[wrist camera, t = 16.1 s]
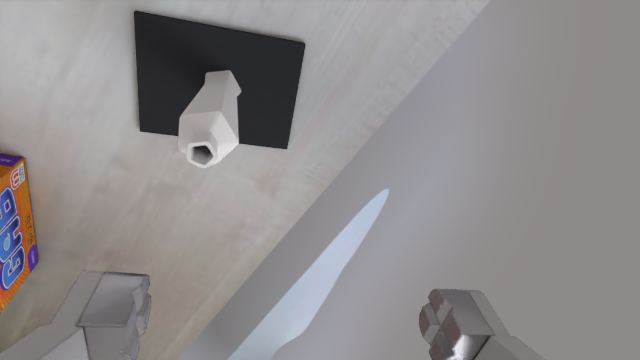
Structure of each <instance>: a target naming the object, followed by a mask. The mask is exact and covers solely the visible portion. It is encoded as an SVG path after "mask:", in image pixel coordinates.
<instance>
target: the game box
mask: <svg viewBox="0 0 640 360" xmlns="http://www.w3.org/2000/svg"><path fill="white" fill-rule="evenodd" d="M37 263H38V255H37V248H36V240H35V233H34V225H33V218H32V210H31V202H30V195H29V188H28V180H27V172H26V164H25V158H23V157H15V156H9V155H2V154H0V313H1V311H2V310H3V309H4V308H5V307H6V306H7V304H8V303H9V301H10V300H11V299H12V297H13V296H14V295H15V293H16V292H17V290H18V289H19V288H20V286H21V285H22V284H23V282H24V281H25V279H26V278H27V277H28V275H29V274H30V273H31V271H32V270H33V268H34V267H35V266H36V264H37Z"/></svg>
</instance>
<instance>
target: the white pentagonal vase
mask: <svg viewBox="0 0 640 360" xmlns="http://www.w3.org/2000/svg"><path fill="white" fill-rule="evenodd" d="M240 93H241V89H240V87H239V85H238V83H237V81H236V80H235V78H234V76H233V74H232V72H231V71H229V70H226V71H217V72H208V73H206V75H205V84H204V86H203V87H202V88H201V90H200V91H199V92H198V94H197V95H196V96H195V98H194V99H193V100H192V102H191V103H190V104H189V105H188V107H187V108H186V109H185V111H184V112H183V113H182V115H181V116H180V119H179V137H178V150H179V151H180V152H182V153H184V154H187V161H188V162H189V163H191V164H194V165H196V166H199V167H201V168H204V169H206V168H208V167H209V166H210V165H216V164H217V163H218V162H219V161H220V160H221V159H223V158H224V157H225V156H226V155H227V154H228V153H229V152H230V151H232V150H233V149H234V148H235V147H236V146H237V145H238V144H239V134H238V112H237V96H238V95H239V94H240Z"/></svg>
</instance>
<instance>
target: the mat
mask: <svg viewBox="0 0 640 360" xmlns="http://www.w3.org/2000/svg"><path fill="white" fill-rule="evenodd" d="M134 22H135V42H136V62H137V81H138V101H139V121H140V131H141V132H149V133H158V134H166V135H174V136H179V119H180V116H181V115H182V113H183V112H184V111H185V109H186V108H187V107H188V105H189V104H190V103H191V102H192V100H193V99H194V98H195V96H196V95H197V94H198V92H199V91H200V90H201V88H202V87H203V86H204V84H205V75H206V73H208V72H217V71H226V70H229V71H231V72H232V74H233V76H234V78H235V80H236V81H237V83H238V85H239V87H240V89H241V93H240V94H239V95H238V96H237V112H238V134H239V143H240V144H248V145H256V146H264V147H273V148H281V149H287V146H288V141H289V135H290V129H291V124H292V118H293V112H294V106H295V101H296V95H297V89H298V84H299V78H300V72H301V67H302V61H303V55H304V49H305V43H302V42H297V41H291V40H286V39H281V38H276V37H270V36H265V35H260V34H255V33H249V32H244V31H239V30H233V29H228V28H223V27H218V26H212V25H207V24H202V23H196V22H191V21H186V20H181V19H175V18H170V17H165V16H160V15H154V14H149V13H144V12H138V11H135V12H134Z"/></svg>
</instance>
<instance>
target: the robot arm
mask: <svg viewBox="0 0 640 360" xmlns="http://www.w3.org/2000/svg"><path fill="white" fill-rule="evenodd" d="M149 286H150V278H149V275H147V274H134V273H120V272H103V271H89V270H84V271H83V272H82V273H81V274H80V275H79V276H78V278H77V279H76V281H75V283H74V284H73V286H72V288H71V289H70V291H69V293H68V294H67V296H66V298H65V299H64V301H63V303H62V304H61V306H60V308H59V309H58V311H57V313H56V314H55V316H54V318H53V319H52V321H51V323H50V324H49V326H41V327H39V328H38V329H36V330H35V331H33V332H32V333H30V334H28V335H27V336H25V337H24V338H22V339H21V340H19V341H18V342H16V343H15V344H13V345H12V346H10V347H9V348H7V349H6V350H4V351H3V352H1V353H0V360H136V357H137V354H138V352H139V349H140V348H139V337H140V336H141V335H143V334H144V333H145V330H146V327H147V324H148V320H149V315H150V309H151V296H150V295H149V294H148V293H147V292H148V289H149ZM428 298H429V301H430V302H429V303H428V304H426V305H425V306H423V308H422V310H421V312H420V317H419V326H420V331H421V333H422V336H423V338H424V339H425V340H426V341H427V342H428V343H429V344H430V345H431V346H430V349H429V354H430V356H431V358H432V360H545V359H544V358H543V357H542V356H540V355H539V354H538V353H536V352H535V351H534V350H532V349H531V348H530V347H528V346H527V345H526V344H525V343H523V342H522V341H521V340H519V339H518V338H517V337H513V336H510V334H509V333H508V331H507V329H506V328H505V327H504V325H503V323H502V322H501V320H500V319H499V317H498V315H497V314H496V312H495V310H494V309H493V307H492V306H491V304H490V303H489V301H488V299H487V298H486V296H485V295H484V294H483V293H482V292H481V291H477V290H457V289H434V290H432V291H431V292H430V294H429V296H428Z"/></svg>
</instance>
